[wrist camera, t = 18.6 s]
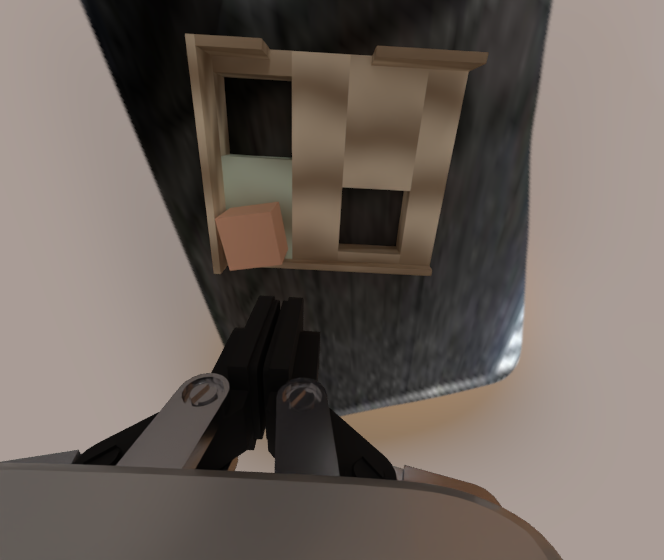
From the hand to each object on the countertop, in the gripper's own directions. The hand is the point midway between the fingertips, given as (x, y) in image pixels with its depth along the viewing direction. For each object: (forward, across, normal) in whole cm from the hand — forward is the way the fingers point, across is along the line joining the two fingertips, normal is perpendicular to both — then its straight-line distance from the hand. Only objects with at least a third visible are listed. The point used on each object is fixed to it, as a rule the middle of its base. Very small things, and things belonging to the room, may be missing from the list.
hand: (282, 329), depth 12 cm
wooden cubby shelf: (+20, -2, -4) cm, 21 cm away
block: (+18, +5, +2) cm, 19 cm away
